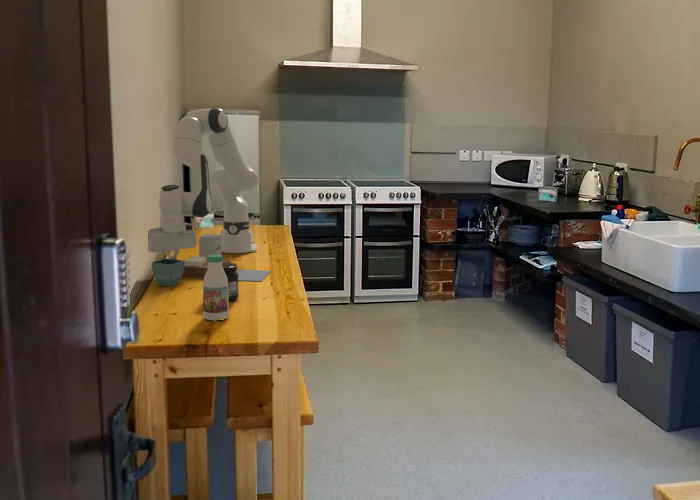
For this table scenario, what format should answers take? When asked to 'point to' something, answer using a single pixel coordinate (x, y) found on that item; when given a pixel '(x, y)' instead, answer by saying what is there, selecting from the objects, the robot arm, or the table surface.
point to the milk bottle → (215, 290)
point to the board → (196, 270)
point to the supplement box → (209, 245)
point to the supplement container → (231, 280)
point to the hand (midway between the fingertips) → (172, 260)
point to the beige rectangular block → (195, 261)
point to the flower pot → (168, 271)
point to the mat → (252, 275)
